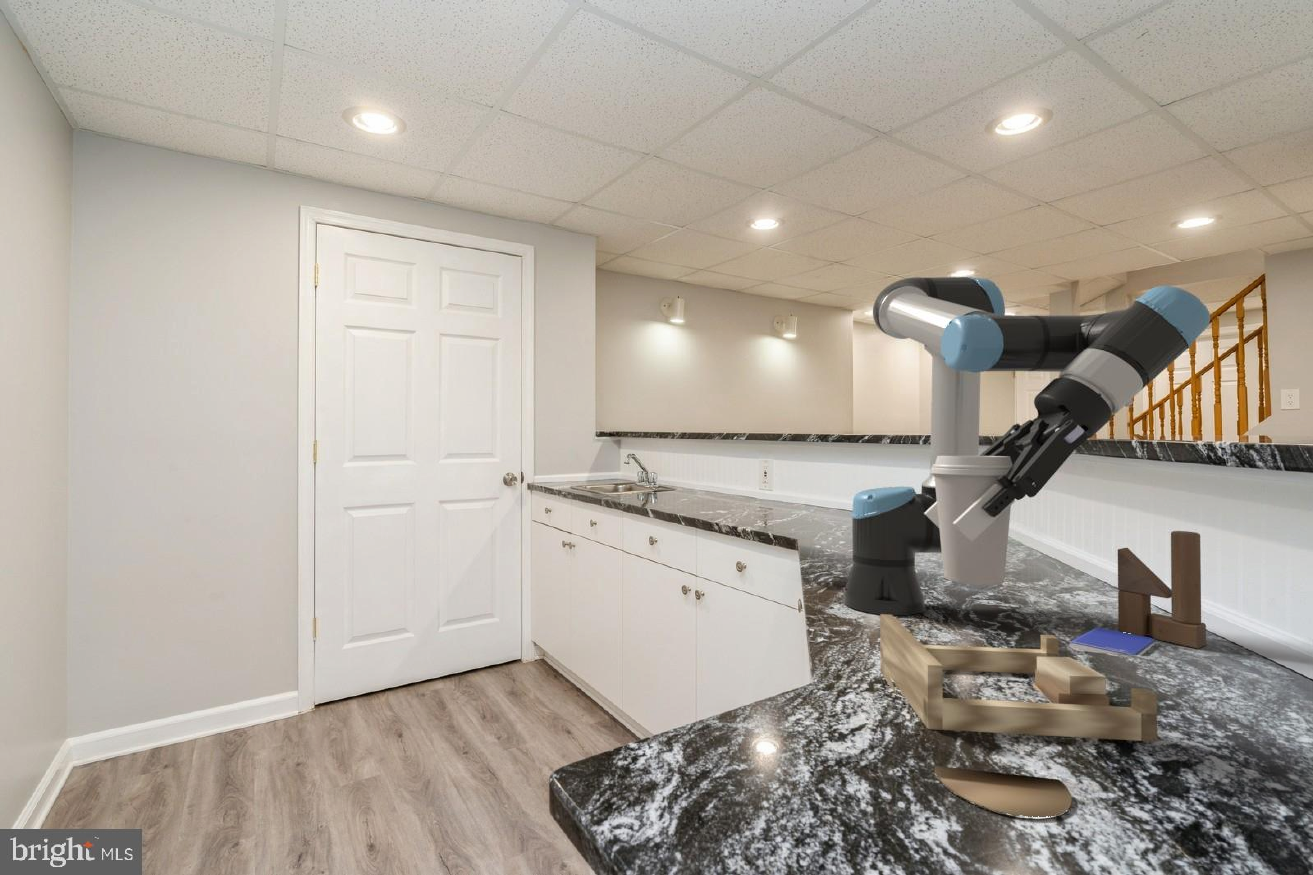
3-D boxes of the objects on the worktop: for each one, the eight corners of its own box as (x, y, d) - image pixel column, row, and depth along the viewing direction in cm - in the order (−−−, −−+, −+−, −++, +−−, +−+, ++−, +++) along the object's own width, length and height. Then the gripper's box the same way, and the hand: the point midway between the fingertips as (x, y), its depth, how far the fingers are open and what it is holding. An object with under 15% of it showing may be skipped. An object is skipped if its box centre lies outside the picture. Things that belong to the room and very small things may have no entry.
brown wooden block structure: (1126, 628, 106) (1126, 525, 106) (1206, 646, 97) (1205, 532, 97) (1117, 632, 104) (1116, 526, 104) (1197, 650, 95) (1196, 534, 95)
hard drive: (1133, 654, 89) (1155, 638, 97) (1069, 640, 96) (1094, 626, 104) (1133, 665, 89) (1155, 648, 97) (1069, 650, 96) (1094, 635, 104)
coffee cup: (927, 582, 72) (927, 456, 72) (932, 568, 80) (932, 455, 81) (1021, 592, 68) (1020, 457, 68) (1016, 575, 76) (1015, 455, 76)
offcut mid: (1058, 710, 69) (1058, 693, 69) (1035, 684, 77) (1035, 668, 77) (1109, 716, 68) (1109, 698, 68) (1080, 688, 76) (1080, 672, 76)
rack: (927, 740, 65) (927, 665, 65) (880, 671, 85) (880, 614, 85) (1157, 753, 62) (1156, 675, 62) (1052, 679, 82) (1052, 620, 82)
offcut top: (1069, 693, 69) (1069, 676, 69) (1036, 672, 76) (1036, 656, 76) (1106, 694, 69) (1105, 676, 69) (1069, 673, 76) (1069, 657, 76)
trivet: (909, 770, 59) (909, 766, 59) (980, 744, 64) (980, 740, 64) (1024, 834, 49) (1024, 829, 49) (1097, 797, 54) (1097, 793, 54)
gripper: (1176, 413, 61) (1011, 566, 63) (1057, 422, 83) (937, 535, 85) (1119, 362, 62) (957, 514, 64) (1016, 383, 84) (898, 496, 86)
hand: (946, 526), depth 74 cm, fingers closed on coffee cup, 9 cm apart
